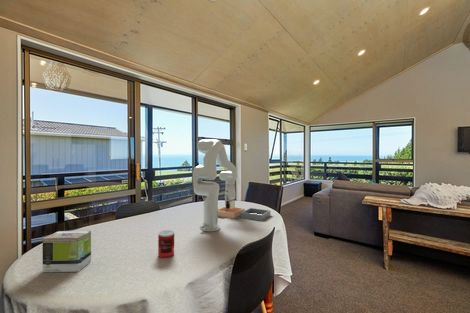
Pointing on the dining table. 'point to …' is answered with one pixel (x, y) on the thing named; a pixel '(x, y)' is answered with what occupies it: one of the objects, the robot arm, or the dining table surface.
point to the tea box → (66, 251)
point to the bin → (247, 214)
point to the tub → (230, 212)
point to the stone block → (231, 204)
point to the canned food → (166, 243)
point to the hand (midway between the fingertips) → (229, 207)
